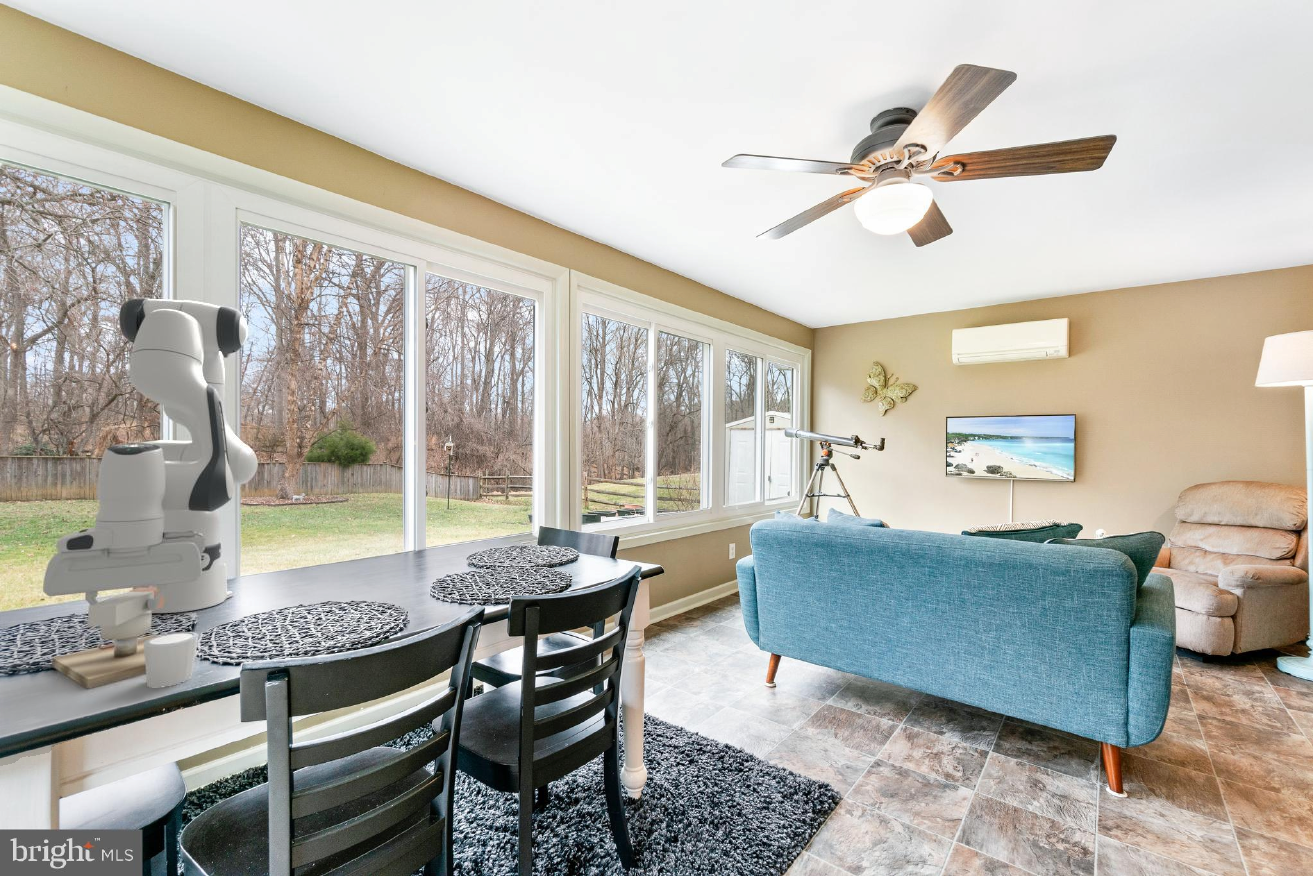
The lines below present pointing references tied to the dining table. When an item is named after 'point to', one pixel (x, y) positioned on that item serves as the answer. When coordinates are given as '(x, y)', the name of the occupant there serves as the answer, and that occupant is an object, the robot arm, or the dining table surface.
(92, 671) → the base plate
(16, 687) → the dining table surface
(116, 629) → the orange-ended white bar
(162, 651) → the white tapered cup
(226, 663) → the dining table surface
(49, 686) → the dining table surface
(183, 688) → the dining table surface
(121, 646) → the post
